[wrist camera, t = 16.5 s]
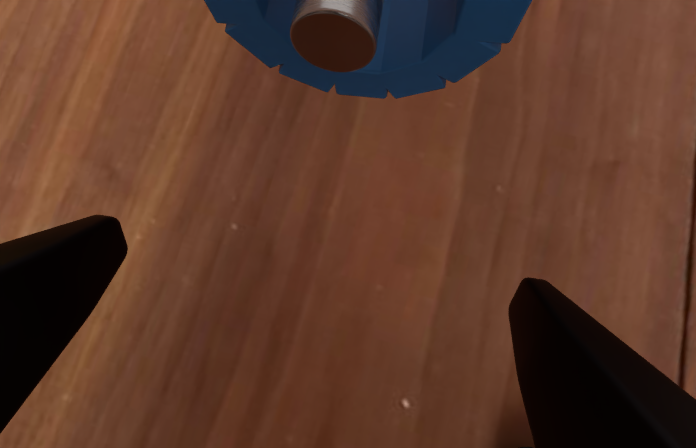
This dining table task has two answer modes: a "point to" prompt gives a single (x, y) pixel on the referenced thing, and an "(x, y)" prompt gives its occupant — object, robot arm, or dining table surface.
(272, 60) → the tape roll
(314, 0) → the hook
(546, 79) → the dining table surface
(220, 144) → the dining table surface
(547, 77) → the dining table surface
